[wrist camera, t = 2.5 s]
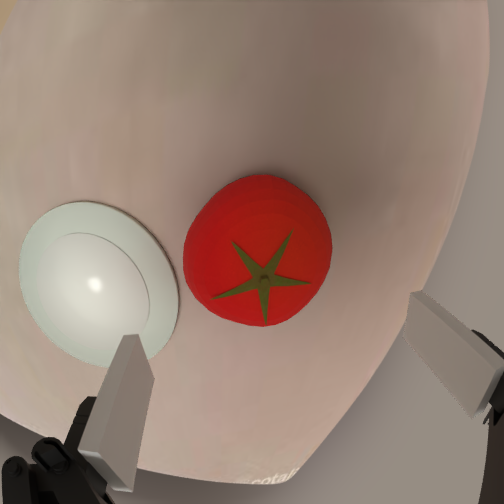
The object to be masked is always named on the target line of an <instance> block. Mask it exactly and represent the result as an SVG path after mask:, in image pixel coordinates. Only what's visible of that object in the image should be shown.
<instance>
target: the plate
mask: <svg viewBox="0 0 504 504" xmlns="http://www.w3.org/2000/svg"><path fill="white" fill-rule="evenodd" d="M19 279H20V285H21V290H22V294H23V297H24V300H25V303H26V305H27V307H28V310H29V312H30V313H31V315H32V317H33V319H34V320H35V322H36V323H37V325H38V326H39V328H40V329H41V330H42V331H43V332H44V334H45V335H46V336H47V337H48V338H49V339H50V340H51V341H52V342H53V343H54V344H55V345H57V346H58V347H59V348H60V349H62V350H63V351H65V352H66V353H68V354H69V355H71V356H73V357H75V358H77V359H79V360H81V361H84V362H86V363H89V364H92V365H96V366H101V367H107V368H109V367H110V364H111V362H112V360H113V357H114V355H115V353H116V351H117V348H118V346H119V344H120V342H121V339H122V337H123V335H131V334H139V337H140V340H141V343H142V346H143V349H144V351H145V354H146V357H147V360H148V359H150V358H152V357H153V356H154V355H156V354H157V353H158V352H159V351H160V350H161V349H162V348H163V347H164V346H165V344H166V343H167V341H168V340H169V338H170V336H171V334H172V332H173V330H174V327H175V323H176V320H177V315H178V308H179V292H178V286H177V281H176V277H175V273H174V270H173V268H172V266H171V263H170V261H169V259H168V257H167V255H166V253H165V252H164V250H163V248H162V247H161V245H160V244H159V243H158V241H157V240H156V239H155V237H154V236H153V235H152V234H151V233H150V232H149V231H148V230H147V229H146V228H145V227H144V226H143V225H142V224H141V223H139V222H138V221H137V220H136V219H134V218H133V217H131V216H130V215H128V214H127V213H125V212H123V211H121V210H119V209H117V208H115V207H112V206H109V205H106V204H103V203H98V202H92V201H78V202H71V203H67V204H64V205H61V206H59V207H56V208H54V209H52V210H50V211H49V212H47V213H45V214H44V215H43V216H42V217H40V218H39V219H38V220H37V221H36V222H35V224H34V225H33V226H32V227H31V229H30V230H29V232H28V233H27V235H26V238H25V240H24V242H23V245H22V249H21V252H20V259H19Z"/></svg>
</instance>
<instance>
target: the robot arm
mask: <svg viewBox="0 0 504 504" xmlns="http://www.w3.org/2000/svg"><path fill="white" fill-rule="evenodd" d="M403 338H404V340H405V341H406V342H407V343H408V344H409V345H410V346H411V348H412V349H413V350H414V351H415V352H416V353H417V354H418V355H419V357H420V358H421V359H422V360H423V361H424V363H425V364H426V365H427V366H428V367H429V368H430V369H431V371H432V372H433V373H434V374H435V375H436V377H437V378H438V379H439V380H440V381H441V383H442V384H443V385H444V386H445V387H446V389H447V390H448V391H449V392H450V393H451V395H452V396H453V397H454V398H455V399H456V401H457V402H458V403H459V405H460V406H461V407H462V408H463V410H464V411H465V412H466V413H467V415H468V416H469V417H470V418H471V419H472V418H474V417H476V416H477V415H479V414H481V413H482V412H483V411H484V410H485V408H486V406H487V404H488V402H489V403H490V404H491V405H492V407H491V409H490V411H489V412H488V414H487V416H486V418H485V419H484V421H483V424H485V423H486V421H487V420H488V418H489V423H488V425H489V432H488V445H487V455H486V463H485V470H484V477H483V483H482V488H481V493H480V498H479V503H478V504H504V353H503V352H502V351H501V350H500V349H499V348H498V347H497V346H494V344H493V343H492V342H491V341H489V340H488V339H487V338H486V337H485V336H484V335H483V334H481V333H479V332H477V331H475V330H470V329H469V328H467V327H466V326H465V325H464V324H463V323H461V322H460V321H459V320H458V319H457V318H456V317H454V316H453V315H452V314H451V313H449V312H448V311H447V310H446V309H445V308H443V307H442V306H441V305H440V304H438V303H437V302H436V301H435V300H433V299H432V298H431V297H430V296H428V295H427V294H426V293H424V292H423V291H422V290H421V291H417V292H412V293H410V298H409V305H408V311H407V317H406V323H405V329H404V334H403ZM154 379H155V378H154V376H153V373H152V371H151V368H150V365H149V363H148V360H147V357H146V354H145V351H144V349H143V346H142V343H141V340H140V337H139V334H131V335H123V337H122V339H121V342H120V344H119V346H118V348H117V351H116V353H115V355H114V357H113V360H112V362H111V364H110V367H109V369H108V371H107V374H106V376H105V379H104V381H103V383H102V386H101V388H100V391H99V393H98V396H97V397H90V396H88V397H87V398H86V399H85V400H84V401H83V402H82V403H81V404H80V406H79V408H78V411H77V413H76V416H75V418H74V420H73V424H72V425H71V427H70V430H69V432H68V435H67V438H66V440H65V443H64V445H63V444H62V443H61V441H60V440H58V439H56V438H54V437H47V438H43V439H41V440H40V441H38V442H37V443H36V444H35V445H34V447H33V449H32V452H31V454H32V459H33V460H34V461H35V462H36V463H37V464H28V463H27V462H26V461H25V460H24V459H23V458H22V457H19V456H13V457H11V458H9V459H7V460H6V461H5V463H4V464H3V467H2V496H3V504H115V503H114V501H113V500H112V498H111V497H110V496H109V494H108V493H107V492H106V486H107V483H108V484H109V485H110V486H111V487H112V488H113V489H114V490H119V491H127V492H133V486H134V480H135V474H136V468H137V462H138V457H139V451H140V446H141V440H142V435H143V430H144V425H145V420H146V415H147V410H148V406H149V401H150V396H151V392H152V388H153V383H154Z"/></svg>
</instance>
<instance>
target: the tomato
mask: <svg viewBox="0 0 504 504" xmlns="http://www.w3.org/2000/svg"><path fill="white" fill-rule="evenodd" d="M331 255H332V239H331V233H330V230H329V227H328V224H327V221H326V219H325V217H324V215H323V213H322V212H321V210H320V209H319V207H318V205H317V204H316V203H315V202H314V201H313V200H312V199H311V198H310V197H309V196H308V195H307V194H305V193H304V192H303V191H301V190H300V189H299V188H297V187H296V186H294V185H293V184H291V183H289V182H288V181H286V180H284V179H282V178H278V177H275V176H272V175H252V176H248V177H244V178H241V179H238V180H236V181H234V182H232V183H230V184H228V185H227V186H225V187H224V188H223V189H221V190H220V191H219V192H217V193H216V194H215V195H214V196H213V197H212V198H211V199H210V200H209V201H208V203H207V204H206V205H205V206H204V207H203V209H202V210H201V211H200V212H199V214H198V215H197V216H196V218H195V220H194V221H193V223H192V225H191V227H190V228H189V231H188V233H187V237H186V240H185V243H184V251H183V271H184V275H185V279H186V283H187V285H188V286H189V288H190V290H191V291H192V293H193V295H194V296H195V298H196V299H197V300H198V301H199V302H200V303H202V304H203V305H204V306H205V307H206V308H207V309H208V310H209V311H211V312H212V313H214V314H216V315H218V316H220V317H222V318H224V319H227V320H231V321H234V322H237V323H241V324H245V325H249V326H261V327H264V326H271V325H276V324H279V323H281V322H284V321H286V320H288V319H289V318H291V317H292V316H294V315H295V314H297V313H298V312H299V311H300V310H301V309H302V308H304V307H305V306H306V305H307V304H308V303H309V302H310V300H311V299H312V298H313V297H314V296H315V294H316V293H317V292H318V290H319V288H320V287H321V285H322V283H323V282H324V280H325V277H326V275H327V273H328V270H329V268H330V261H331Z"/></svg>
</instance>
